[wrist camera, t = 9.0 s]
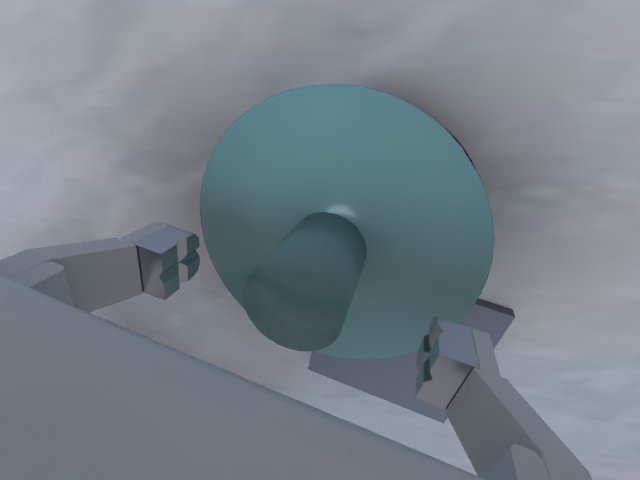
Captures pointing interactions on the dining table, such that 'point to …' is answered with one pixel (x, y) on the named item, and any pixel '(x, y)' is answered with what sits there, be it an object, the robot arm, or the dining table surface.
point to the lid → (346, 221)
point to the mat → (406, 364)
